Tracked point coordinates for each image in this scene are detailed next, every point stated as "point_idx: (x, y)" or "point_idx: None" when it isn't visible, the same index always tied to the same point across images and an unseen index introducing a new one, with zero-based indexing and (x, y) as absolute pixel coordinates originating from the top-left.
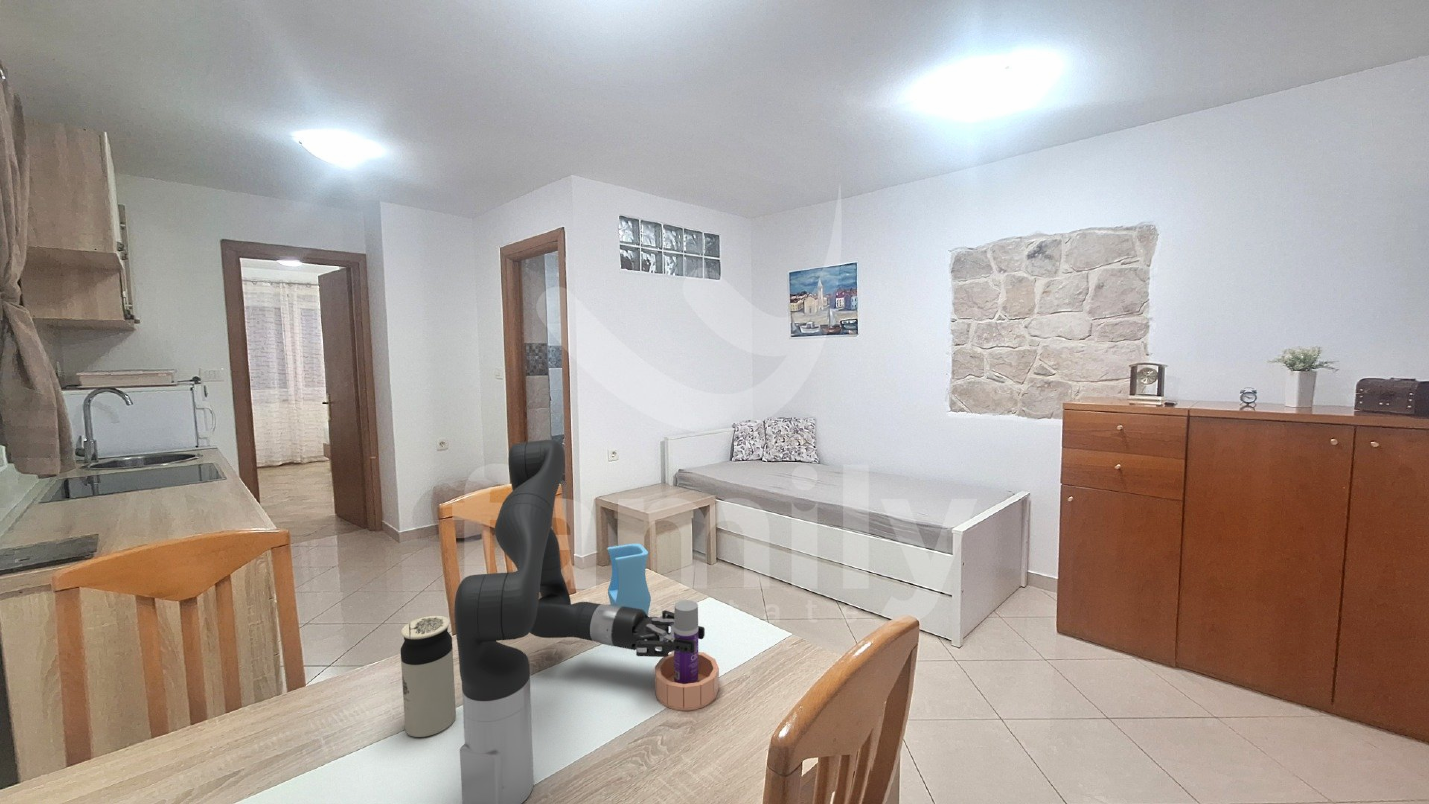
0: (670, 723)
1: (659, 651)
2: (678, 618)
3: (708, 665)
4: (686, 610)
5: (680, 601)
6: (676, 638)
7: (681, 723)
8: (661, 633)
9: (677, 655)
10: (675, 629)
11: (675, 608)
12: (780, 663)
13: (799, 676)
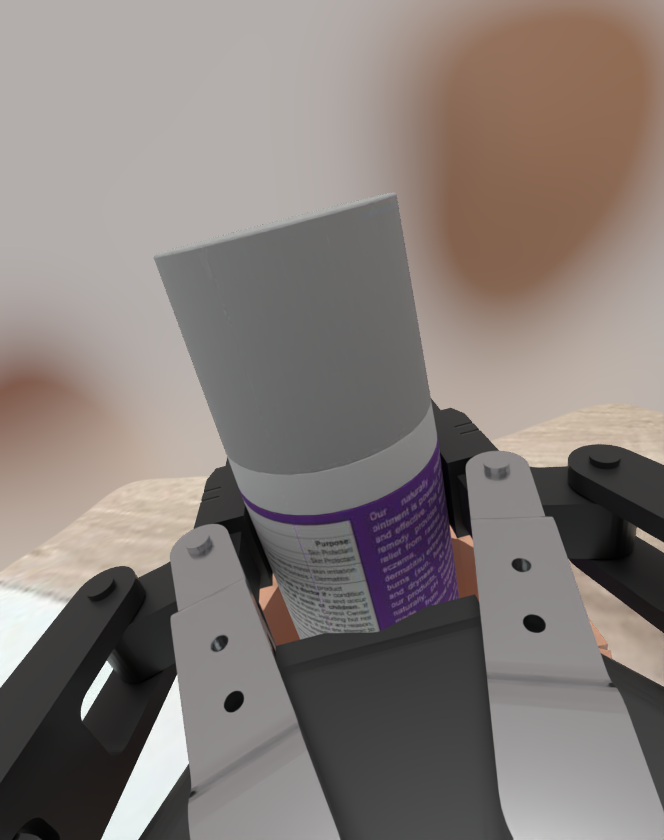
0: (657, 648)
1: (636, 583)
2: (411, 296)
3: (278, 621)
4: (370, 197)
5: (201, 243)
6: (461, 459)
7: (608, 611)
8: (547, 523)
9: (456, 580)
10: (422, 434)
11: (376, 210)
12: (145, 535)
13: (203, 485)
